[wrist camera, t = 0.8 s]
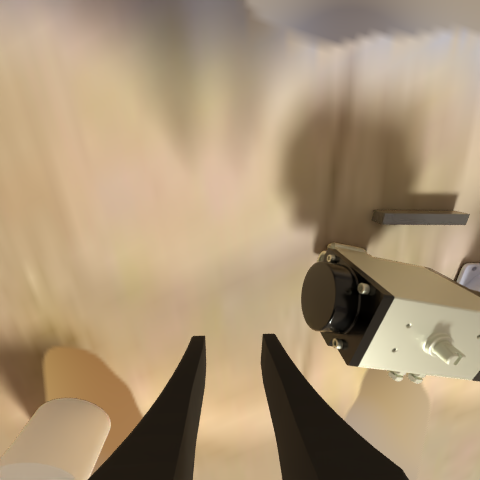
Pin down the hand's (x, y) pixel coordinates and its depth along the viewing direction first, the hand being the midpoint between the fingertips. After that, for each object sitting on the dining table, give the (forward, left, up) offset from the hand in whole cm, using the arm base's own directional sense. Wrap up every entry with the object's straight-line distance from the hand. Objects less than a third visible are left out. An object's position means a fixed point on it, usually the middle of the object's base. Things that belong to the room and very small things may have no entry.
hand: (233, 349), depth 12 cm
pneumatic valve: (-11, 0, -11) cm, 15 cm away
